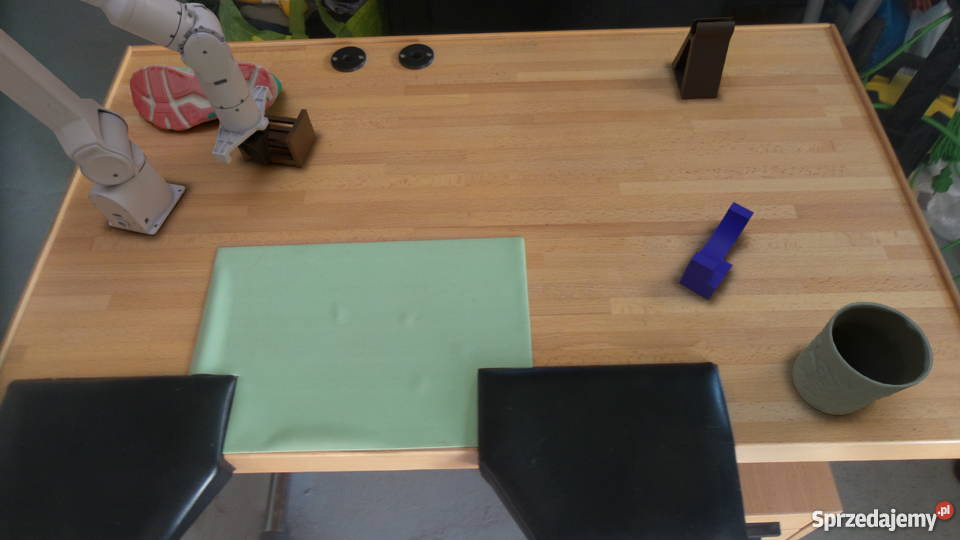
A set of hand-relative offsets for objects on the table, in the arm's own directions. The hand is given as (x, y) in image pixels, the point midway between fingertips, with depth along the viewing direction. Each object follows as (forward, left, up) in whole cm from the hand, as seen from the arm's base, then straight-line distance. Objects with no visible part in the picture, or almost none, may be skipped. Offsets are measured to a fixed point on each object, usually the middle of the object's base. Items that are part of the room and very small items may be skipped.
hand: (262, 161), depth 91 cm
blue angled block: (-2, -71, -1) cm, 71 cm away
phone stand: (+36, -66, -1) cm, 75 cm away
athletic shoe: (+9, +15, -1) cm, 17 cm away
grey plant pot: (-17, -85, -1) cm, 87 cm away
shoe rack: (+4, -1, -1) cm, 4 cm away
